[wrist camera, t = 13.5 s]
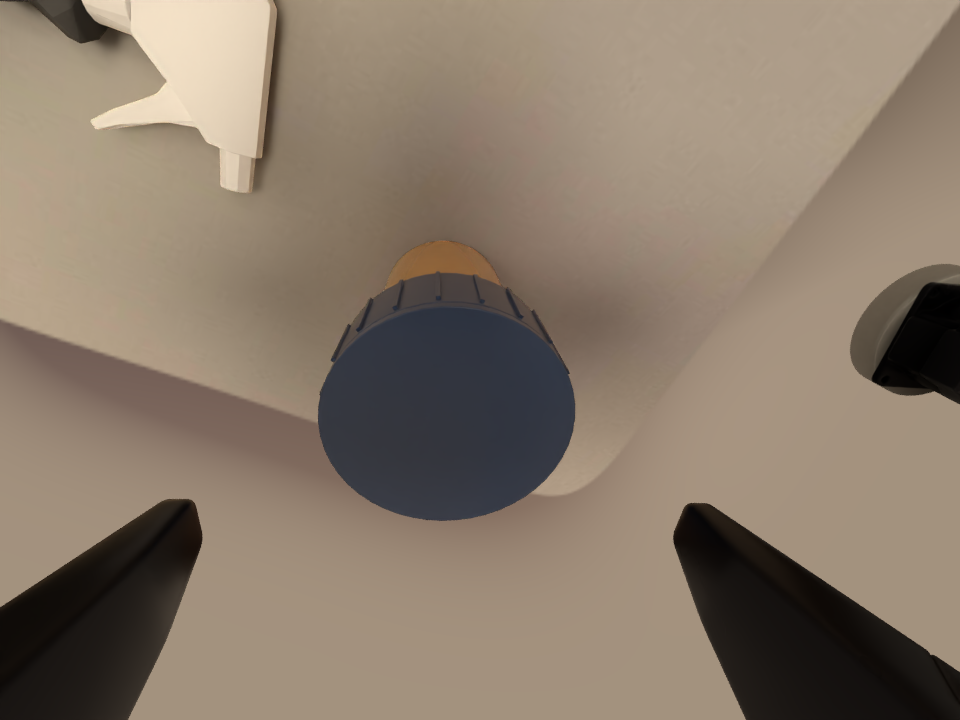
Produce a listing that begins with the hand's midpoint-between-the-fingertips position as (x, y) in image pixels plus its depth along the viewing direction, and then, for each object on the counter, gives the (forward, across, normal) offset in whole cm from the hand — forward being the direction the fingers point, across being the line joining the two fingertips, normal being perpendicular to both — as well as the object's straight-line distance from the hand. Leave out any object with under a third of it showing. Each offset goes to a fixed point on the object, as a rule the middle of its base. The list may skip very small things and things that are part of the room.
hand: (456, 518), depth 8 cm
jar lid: (+6, 0, 0) cm, 6 cm away
